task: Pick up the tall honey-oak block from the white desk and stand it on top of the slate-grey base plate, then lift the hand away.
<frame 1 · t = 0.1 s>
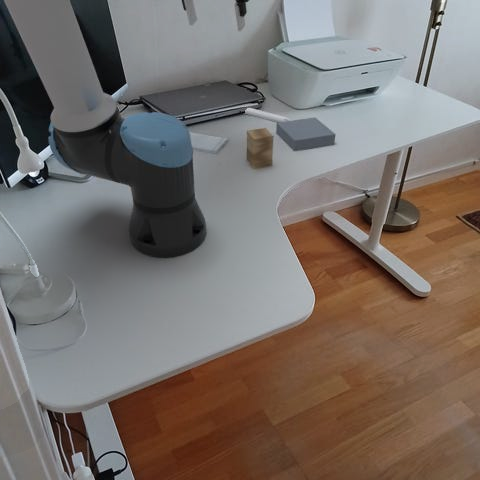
hand: (217, 25, 113), 28 cm above the table, tool tilted 20°, fingers open, 13 cm apart
grey base: (304, 138, 125), on the table
hard drive: (201, 146, 123), on the table
oak block: (259, 162, 114), on the table
marker: (265, 119, 137), on the table
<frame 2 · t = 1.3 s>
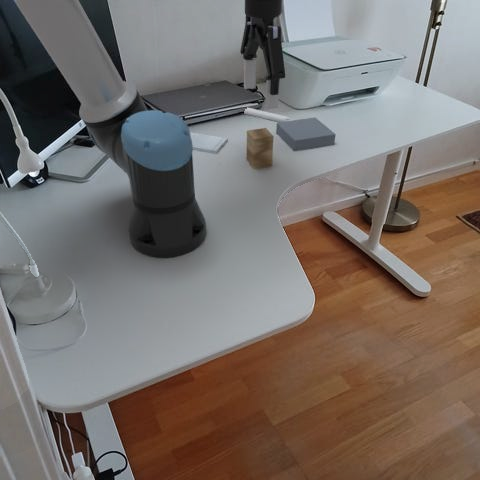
hand: (260, 97, 104), 17 cm above the table, tool pointing down, fingers open, 13 cm apart
nothing on the table moved.
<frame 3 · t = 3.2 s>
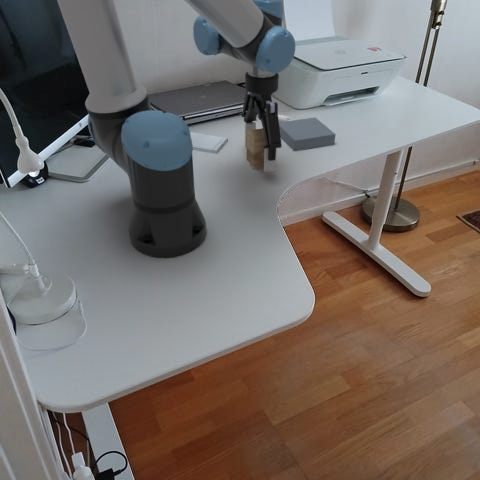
hand: (259, 158, 113), 1 cm above the table, tool pointing down, fingers open, 13 cm apart
nothing on the table moved.
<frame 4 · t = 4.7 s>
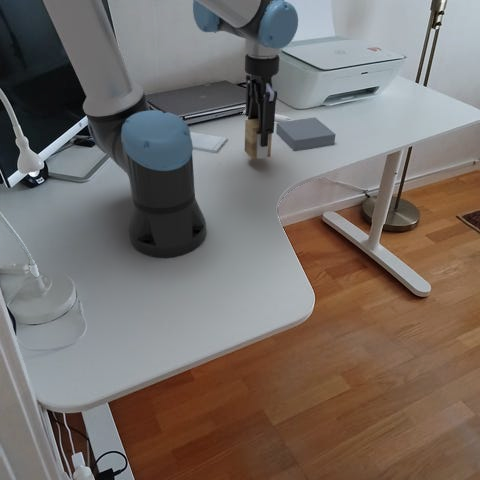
hand: (257, 151, 112), 3 cm above the table, tool pointing down, fingers closed on oak block, 5 cm apart
oak block: (257, 153, 112), point 3 cm above the table, touching gripper
everything else where it was.
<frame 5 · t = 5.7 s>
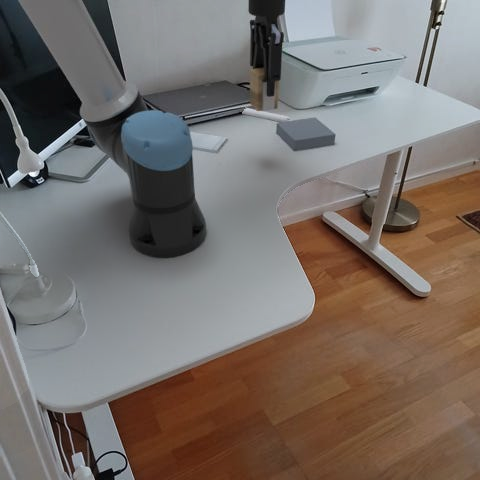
hand: (263, 104, 105), 15 cm above the table, tool pointing down, fingers closed on oak block, 5 cm apart
oak block: (263, 106, 106), point 15 cm above the table, touching gripper
everything else where it was.
when the fingers open (4 cm above the table, at t = 9.6 s): oak block stays where it is, resting on grey base.
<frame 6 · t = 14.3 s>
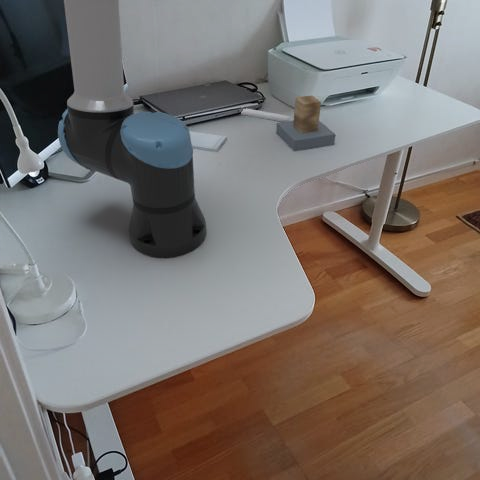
oak block: (305, 128, 123), point 3 cm above the table, touching grey base
everything else where it was.
at the end: oak block inside the target area on the grey base (0.0 cm from its centre), point 3.0 cm above the grey base's base; oak block tilted 0°; the gripper is holding nothing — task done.
